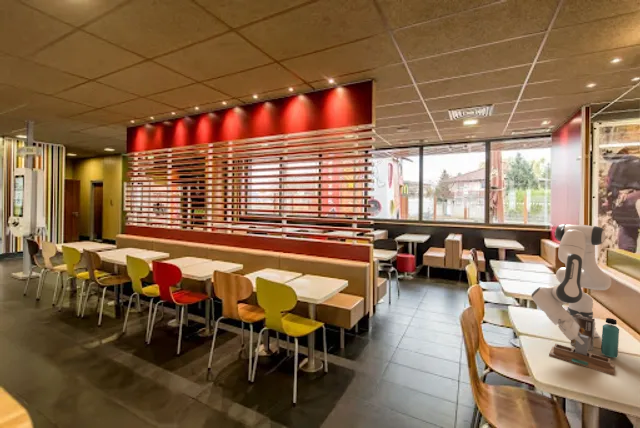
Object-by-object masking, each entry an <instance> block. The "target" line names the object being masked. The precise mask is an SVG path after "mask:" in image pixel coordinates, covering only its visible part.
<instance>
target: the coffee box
mask: <svg viewBox="0 0 640 428" xmlns="http://www.w3.org/2000/svg"><path fill="white" fill-rule="evenodd" d="M573 318H574V320H575V321H576V322H577V323H578V324H579V326H580V329H579V332H580V333H581V335H585V336H588V350H587V351H593V349H594V338H595V337H594V322H595V321H596V320H595V318H588V317H584V316H580V315H575V314H574V315H573ZM595 323H596V322H595ZM570 345H571V346H573V345H574V346H573V347H575V345H576V340H575V339H573V340H570Z"/></svg>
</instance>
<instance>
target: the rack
mask: <svg viewBox="0 0 640 428" xmlns="http://www.w3.org/2000/svg"><path fill="white" fill-rule="evenodd" d="M548 356H549V357H552V358H556V359H559V360H563V361H565V362H568V363H571V364H575V365H579V366H582V367H585V368H589V369H592V370H595V371H599V372H603V373H604V374H609V375H612V376H614V375H615V363H612V362H611V358H608V357H607V356H601V355H598V354H595V353H591V352H588V351H587V356H585V355H582V354H578V353H575V348H573V347H570V346H566V345H562V344H559V343H555V344H554V345H553V346H552V347H551V350H550V352H549V353H548Z"/></svg>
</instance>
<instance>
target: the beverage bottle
mask: <svg viewBox="0 0 640 428" xmlns="http://www.w3.org/2000/svg"><path fill="white" fill-rule="evenodd" d="M601 332H602V333H601V334H602V335H601V346H600V353H601V354H602V355H603V356H605V357H610V358H618V355H619V354H618V353H619V341H620V339H619V337H620V328H619V327H617V319H615V318H612V317H611V318H610V317H608V318H605V324H603V325H602V330H601Z"/></svg>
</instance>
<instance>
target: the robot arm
mask: <svg viewBox="0 0 640 428" xmlns="http://www.w3.org/2000/svg"><path fill="white" fill-rule="evenodd" d="M554 235H555V239H556V240H557V241H558V242H560V243H559V246H558V250H557V251H558V252H557V256H558V260H559V261H560V262H561V263H563V264H564V266H565V267H560V268H558V270H557V271H555V272H556V274H555V277H556V279H557V281H558V282H559V284H556V285H553V286H547V287H546V286H545V287H543V286H540V287H537V289H535V290H534V291H533V292H532V293H531V299H532V301H533V302H534V303H535V305H536V306H537V307H538V308H539V309H540V311H542V312H544V314H545V316H546V317H547V318H548V319H549V320H550V321H551V322H552V323H553V324H554V325H555V326H556V325H558V326H557V327H558V329H559V330H560V331H561V332H562V334H563V335H564V336H565V337H566V339H568V340H569V341H571V340H573V339H575V340H577V341H578V342H579V343H580V344H581V345H583V344H584V343H585V342H584V341H583V340H582V339H581V338H580V337H579V336H578V334H581V333H580V332H579V329H580V326H579V324H578V323H577V322H576V321H575V320H574V318H573V315H574V314H575V315H580V316H584V317H588V318H592V319H594V312H593V305H594V303H593V302H594V300H593V298H592V297H591V296H590V295H589V294H587V293H585V291H583V290H582V288H583V289H590V290H594V291H607V290H608V289H609V288H611V285H612V278H611V277H610V275H609V274H607V273H606V272H604V271H603V270H602V269H601V268H600V267H599V265H598V264H597V261H596V246H598V245H601V244H603V243H604V241H605V239H606V232H605V229H604V228H602V227H601V226H596V225H594V226H593V225H587V224H567V223H564V224H559V225H557V227H556V228H555V231H554ZM566 304H567V305H568V306H567V309H566V308H565V307H563V306H564V305H566ZM596 329H597V328H596V322H594V338H600V335H599V332H597V330H596Z"/></svg>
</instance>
